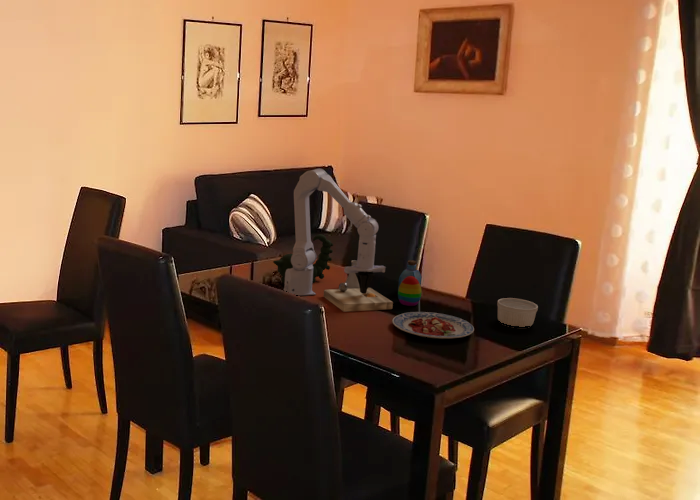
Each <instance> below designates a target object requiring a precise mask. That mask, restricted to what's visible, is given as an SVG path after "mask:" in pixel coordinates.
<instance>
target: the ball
mask: <svg viewBox="0 0 700 500" xmlns="http://www.w3.org/2000/svg"><path fill="white" fill-rule="evenodd" d="M338 289H340V291H343V292H344V291H346V290H347V289H348V285H347V284H346V283H345V282H343V281H342V282H340V283H339V285H338Z"/></svg>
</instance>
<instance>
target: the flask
mask: <svg viewBox="0 0 700 500" xmlns="http://www.w3.org/2000/svg"><path fill="white" fill-rule="evenodd" d="M350 262H351V266H356V265H357V260H355V259H354V260H351V261H350ZM344 283H346V284H347V285H348V289H354V288H360V286H359V282H358V279H357V276H356V274H355V273H349V274H348V275H347V278H346V280H345V282H344Z"/></svg>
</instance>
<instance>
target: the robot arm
mask: <svg viewBox="0 0 700 500" xmlns="http://www.w3.org/2000/svg"><path fill="white" fill-rule="evenodd" d="M316 190H317V191H320V192H324V193H328V194H329V196H331V198H332V199H334V200H335V202H337V203H338V204H339V205H340V206H341V207H342V208H343V215H344V216H345V217H346V218H347V219H348V220H349V221H350V222H351V223H352V225H354V227H355V228H356V229H357V233H358V235H359V237H358V238H359V240H358V249H357V260H356V261H357V265H356V266H352V265H351V266H344V271H343V272H344V273H345V274H348V275H349V273H355V274H356V276H357V279H358V282H359V286H360V292H361V293H363V294H364V293H366V292H367V289H368V288H369V285H370V284H371V282H372V280H373V279H374V277H375V274H374V273H385V272H386V266H384V265H375V257H376V256H375V254H376V244H377V243H376V239H377V233H378V231H379V223H378V222H377V219H375V218H373V217H372V216H371V215H370V214H367V213H366V212H365V211H364V209H363V208H362V207H363V205H362V204H360V203H357V202H355V201H354V202H352V201H351V200H350V199H349V198H348V197H347V195H346V194H345V193H344V192H343V191H342V190H341V188H340V187H339V186H338V185H337V183H336V182H335V181H334V179H333V178H332V176H331V175H330V174H328V173H327V172H326V171H325V170H324V169H323V168H319V167H318V168H314V169H312V170H307V171H305V172H304V173H303V174H301V175H300V176H299V181H297V184H296V185H295V188H294V189H293V205H294V207H293V208H294V227H295V228H294V229H295V232H294V233H295V243H294V245H293V248H292V254H293V255H292V257H291V263H292V265H293V268H291V269H287V270H286V272H285V283H284V284H283V285H284V287H283V291H284V292H286V291H287V292H289V293H292V294H295V295H298V296H315V295H317V293H316V292H315V291H314V290H313V282H312V281H313V264H315V262H316V261H317V253H316V252H315V249H314V243H313V242H312V239H311V237H312V236H311V235H312V234H311V214H310V213H311V212H310V211H311V210H310V196H311V195H312V194H313V193H314V192H315V191H316ZM287 292H286V293H287Z"/></svg>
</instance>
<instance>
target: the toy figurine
mask: <svg viewBox="0 0 700 500" xmlns="http://www.w3.org/2000/svg"><path fill="white" fill-rule="evenodd" d="M317 240H319V241H320V242H321V243H322V245H321V247H320V251H319V252H320V253H319V254H318V256H317V259H316V260H315V262H314V263H313V281H312V284H314V283H315V282H316V281H317V279H316V278H319V279H320V280H322V279H324V278H325V275H324V271H325V270H327V271H329V270H331V266H330V265H329V264H328V262H331V261H332V260H333V259H332V257H330V254H332V253H333V252H334V251H333V249H331V247H333V246H334V244H333V242H331V240H329V239H327V237H326V235H324V234H322V233H321V234H320V233H319V234H316V235H314V237H313V238H312V241H313V242H315V241H317ZM292 255H293V253H286V254H284V255H282V256H281V257H280V258H279V259H277V260H273V261H272V263H273V264H274V265H275V266H277V273H278V274H279V275H280V276H281V278H280V282H282V284H285V272H286V270H287V269H291V268H293V265H292V263H291V257H292Z"/></svg>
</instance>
